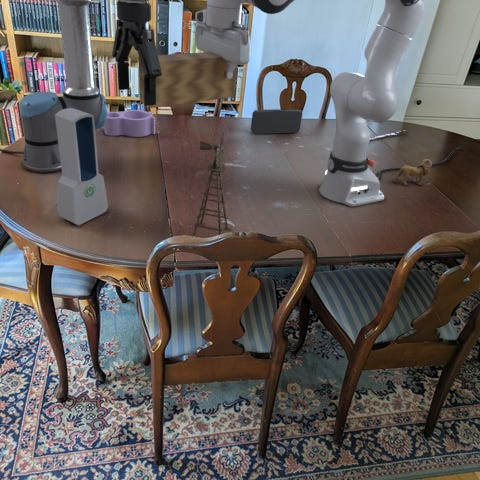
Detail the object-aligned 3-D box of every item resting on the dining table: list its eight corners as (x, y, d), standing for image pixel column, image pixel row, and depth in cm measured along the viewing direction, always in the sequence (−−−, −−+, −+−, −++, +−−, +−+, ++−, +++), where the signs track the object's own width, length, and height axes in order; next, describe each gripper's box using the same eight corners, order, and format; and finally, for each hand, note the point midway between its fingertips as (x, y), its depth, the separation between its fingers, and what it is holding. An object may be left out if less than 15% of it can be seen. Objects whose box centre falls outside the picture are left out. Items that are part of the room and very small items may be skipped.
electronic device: (75, 227, 128) (63, 121, 112) (57, 218, 131) (42, 113, 115) (109, 210, 137) (102, 110, 121) (90, 202, 140) (81, 103, 124)
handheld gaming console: (297, 130, 211) (300, 108, 206) (299, 132, 209) (303, 110, 204) (249, 131, 204) (252, 109, 199) (252, 134, 202) (254, 111, 197)
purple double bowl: (105, 137, 184) (104, 120, 180) (103, 126, 193) (101, 110, 190) (156, 136, 190) (156, 119, 186) (151, 125, 200) (151, 109, 196)
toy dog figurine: (420, 178, 179) (427, 156, 174) (429, 184, 174) (437, 162, 170) (388, 181, 174) (395, 158, 169) (397, 187, 170) (404, 164, 165)
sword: (403, 130, 224) (403, 128, 224) (408, 133, 222) (409, 130, 222) (360, 142, 209) (360, 139, 208) (365, 144, 207) (365, 142, 206)
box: (151, 108, 115) (150, 62, 109) (139, 101, 119) (138, 56, 113) (234, 97, 130) (238, 55, 124) (222, 91, 133) (224, 51, 128)
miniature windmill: (221, 244, 128) (229, 139, 111) (191, 238, 129) (195, 134, 112) (228, 227, 135) (237, 127, 119) (200, 222, 136) (205, 122, 120)
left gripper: (178, 10, 97) (176, 110, 109) (124, -7, 113) (127, 82, 125) (145, 9, 93) (147, 114, 105) (94, -8, 109) (100, 84, 121)
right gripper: (258, 25, 114) (253, 83, 122) (211, 12, 127) (208, 64, 135) (238, 26, 111) (233, 85, 118) (191, 12, 124) (190, 66, 131)
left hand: (136, 97), depth 115 cm, fingers open, 13 cm apart
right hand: (220, 74), depth 127 cm, fingers closed on box, 6 cm apart
